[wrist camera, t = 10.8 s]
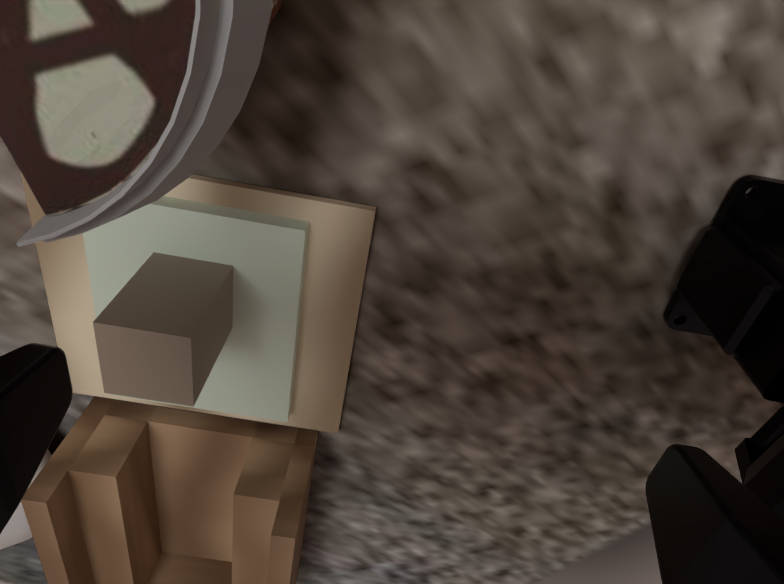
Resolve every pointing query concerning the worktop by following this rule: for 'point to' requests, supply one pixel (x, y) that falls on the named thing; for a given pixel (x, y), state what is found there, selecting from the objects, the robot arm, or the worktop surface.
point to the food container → (120, 98)
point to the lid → (199, 306)
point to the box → (171, 499)
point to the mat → (318, 307)
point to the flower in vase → (20, 518)
